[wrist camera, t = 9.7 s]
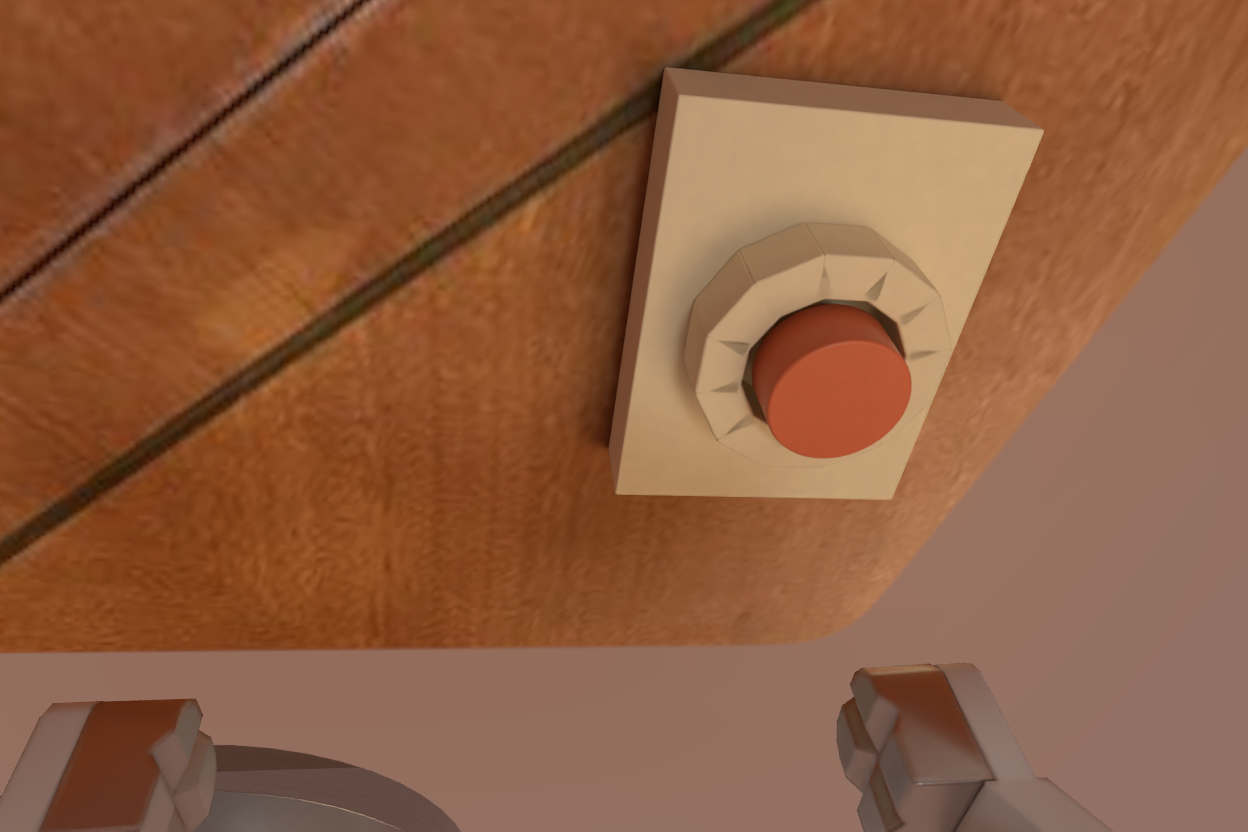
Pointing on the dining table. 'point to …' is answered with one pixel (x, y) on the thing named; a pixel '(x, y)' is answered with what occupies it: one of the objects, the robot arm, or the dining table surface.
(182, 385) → the dining table surface
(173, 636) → the dining table surface
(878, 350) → the button
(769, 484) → the button box
